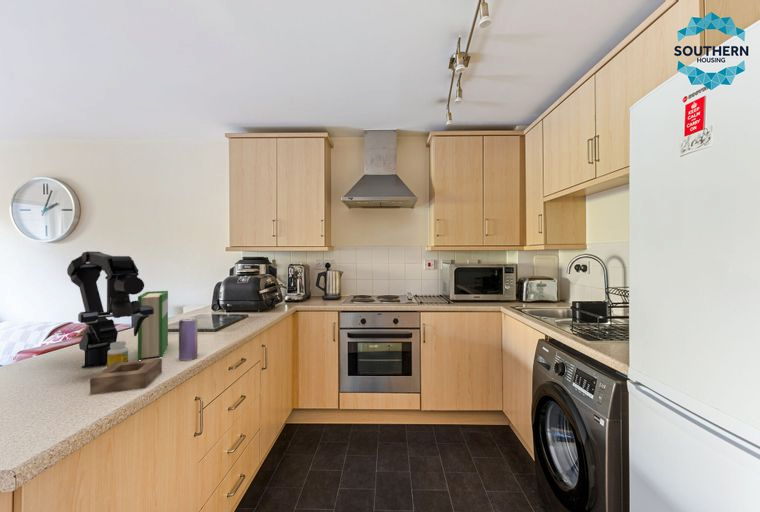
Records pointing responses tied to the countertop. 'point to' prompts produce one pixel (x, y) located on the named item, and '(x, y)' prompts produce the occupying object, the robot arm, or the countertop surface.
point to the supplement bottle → (117, 353)
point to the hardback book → (153, 325)
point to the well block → (126, 376)
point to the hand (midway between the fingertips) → (118, 338)
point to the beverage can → (188, 338)
